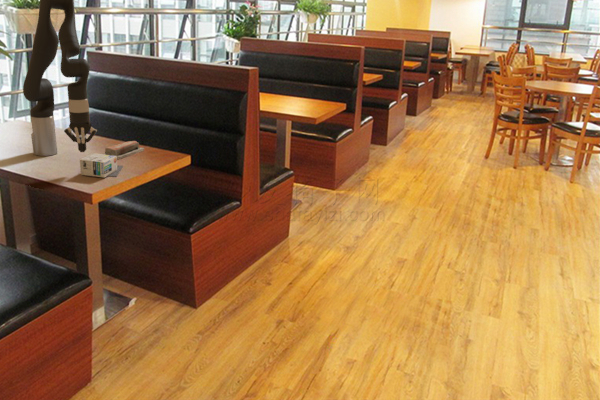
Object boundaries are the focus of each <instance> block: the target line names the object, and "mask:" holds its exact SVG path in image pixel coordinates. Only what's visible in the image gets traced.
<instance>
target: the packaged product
mask: <svg viewBox="0 0 600 400" xmlns="http://www.w3.org/2000/svg"><path fill="white" fill-rule="evenodd" d="M139 146H140V143H139V142H137V141H136V140H132V141H131V140H130V141H129V140H128V141H126V142H121V143H119V144H115V145H111V146H108V147H105V148H104V149H105V151H104V153H103V154H104V155H112V156H117V160H121V159H124V158H127V157H130V156H132V155H133V156H134V155H136V154H139V153H141V152H144V151H145V147H139Z"/></svg>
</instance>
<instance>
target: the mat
mask: <svg viewBox="0 0 600 400" xmlns="http://www.w3.org/2000/svg"><path fill="white" fill-rule="evenodd" d="M123 168H124V165H118V164H117V171H115V172H113V173H111V174H110V175H108V176H107V177H118V176H119V173H120V172H121V171H122V170H123ZM85 176H86V177H89V176H88V175H85Z"/></svg>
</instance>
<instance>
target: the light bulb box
mask: <svg viewBox="0 0 600 400" xmlns="http://www.w3.org/2000/svg"><path fill="white" fill-rule="evenodd" d="M104 154H105V153H95V152H93V153H91V154H89V155H87V156H84V157H82V158H80V159H79V168H80V169H79V170H80V175H83V176H86V175H88V176H87V177H97V178H103V179H105V178H106V177H107V178H108V177H109V176H108V175H110V174H111V173H113V172H115V171H117V165H118V159H117V156H112V155H104Z"/></svg>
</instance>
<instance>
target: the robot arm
mask: <svg viewBox="0 0 600 400" xmlns="http://www.w3.org/2000/svg"><path fill="white" fill-rule="evenodd" d="M52 9H56V10H61V11H63V12H64V20H63V21H62V24H61V25H60V27H59V30H58V34H57V30H56V29H55V27H54V24H53V22H52V18H51V10H52ZM37 18H38V19H37V24H36V28H35V34H34V39H33V45H32V49H31V57H30V60H29V65H28V69H27V72H26V75H25V79H24V81H23V86H22V92H23V95H24V98H25V99H26V100H27V101H29V102H32V103H33V102H36V104H35V105H34V106H33V107H32V108H31V109H30V115H29V116H30V122H31V130H32V133H31V134H30V136H31V144H32V145H31V146H32V152H33V155H35V156H41V157H47V156H54V155H56V154H58V143H57V136H56V135H57V134H56V127H55V116H54V110H55V92H54V91H55V90H54V87H53V84H52V82H51V81H50V80H49V79H47V78H45V77H44V74H45V72H46V71H47V70H48V68H49V67H50V65H51V64H52V63H53V62H54V60H55V58H56V56H57V54H58V47H60V53H61V54H60V55H61V57H60V58H61V61H60V73H61V74H62V75H63V76H64V77H65V78H79V79H78V80H77V81H75V82H72V83H69V84H68V85H67V86H66V87H67V88H66V89H67V96H68V97H67V98H68V100H67V101H68V104H67V105H68V116H69V125H68V127H67V128H65V129H64V130H63V131H64V133H65V134H66V135H67V136H68V138H69V139H70V140H71V141H72V142H74V143H77V149H78V151H79V152H80V153H85V152H86V151H87V143H90V141H91V140H92V138H93V137H95V135H96V133H97V132H98V129H96V128H94V127H92V124H91V119H90V105H89V101H88V100H89V99H88V92H87V91H88V89H87V87H88V81H89V80H88V79H89V75H90V70H91V69H90V67H91V66H90V64H89V61H88V60H87V59H86V58H74V57H77V56H78V55H80V53H81V46H80V43H79V39H78V34H77V27H76V12H75V0H39V10H38V17H37ZM43 77H44V78H43ZM88 133H90V134H89V136H88V135H87V134H88ZM87 136H88V137H87Z"/></svg>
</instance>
